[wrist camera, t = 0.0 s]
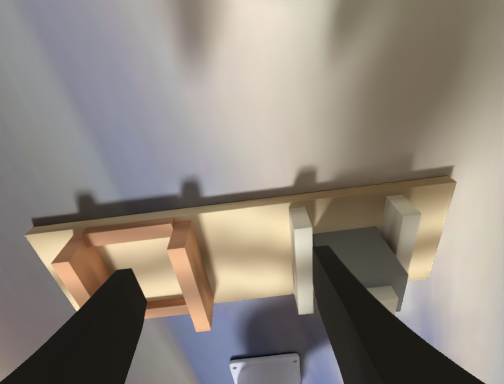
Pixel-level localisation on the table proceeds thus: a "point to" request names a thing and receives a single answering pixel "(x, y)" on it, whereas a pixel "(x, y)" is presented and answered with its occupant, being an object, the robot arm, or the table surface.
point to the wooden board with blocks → (240, 245)
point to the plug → (369, 262)
